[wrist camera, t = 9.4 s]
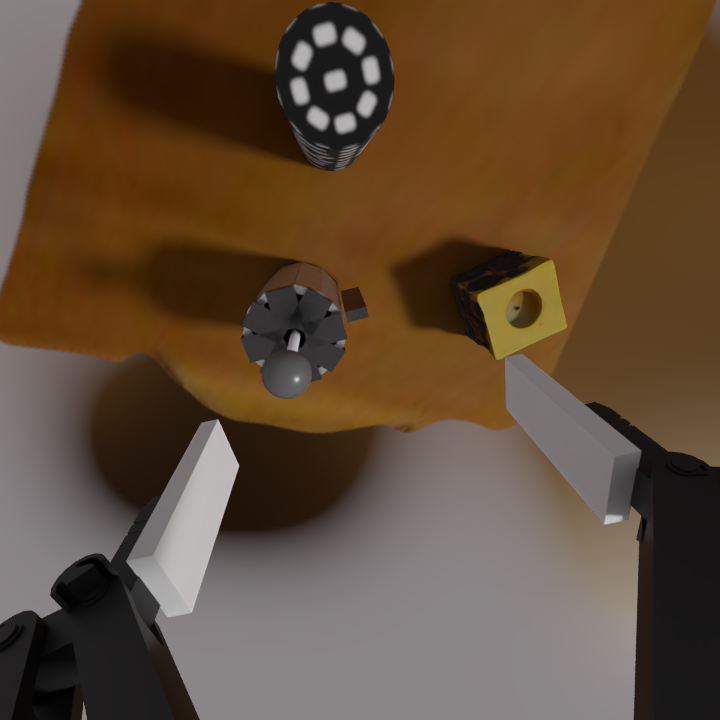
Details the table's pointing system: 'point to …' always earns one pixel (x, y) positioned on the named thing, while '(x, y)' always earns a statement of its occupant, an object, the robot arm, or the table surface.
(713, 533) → the robot arm
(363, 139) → the spotted tube
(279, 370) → the grey ball-topped rod
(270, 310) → the grey cylinder
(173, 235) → the table surface
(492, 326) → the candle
